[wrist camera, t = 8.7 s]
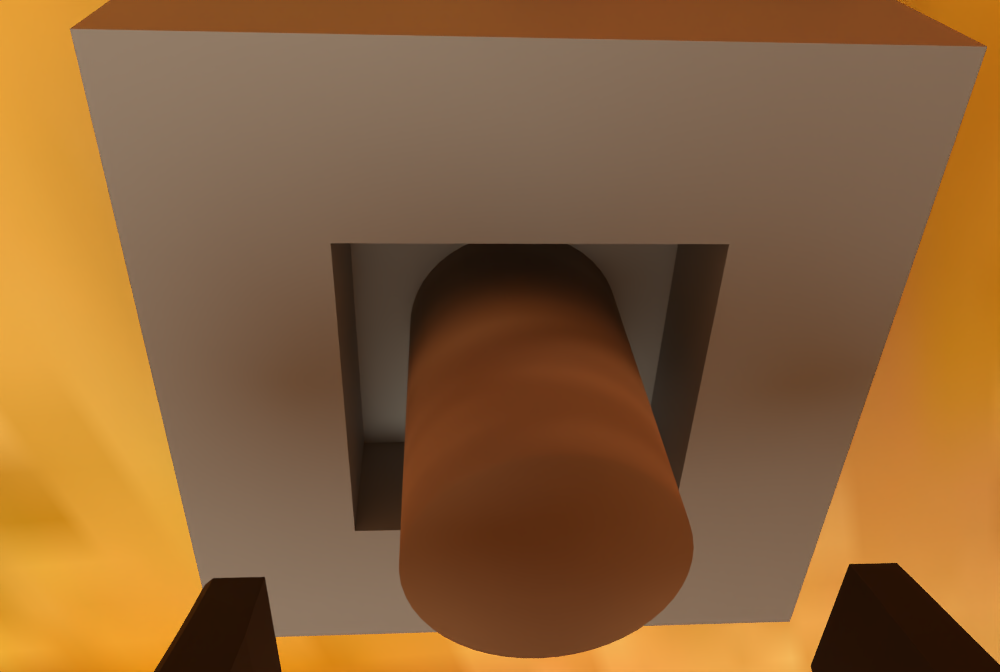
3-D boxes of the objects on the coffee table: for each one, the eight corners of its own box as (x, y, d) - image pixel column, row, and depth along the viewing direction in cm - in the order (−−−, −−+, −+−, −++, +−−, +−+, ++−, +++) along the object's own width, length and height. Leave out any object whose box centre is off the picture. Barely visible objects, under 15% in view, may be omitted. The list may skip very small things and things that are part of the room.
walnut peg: (626, 231, 16) (715, 450, 11) (607, 404, 18) (673, 652, 13) (405, 234, 15) (390, 459, 10) (413, 408, 18) (404, 663, 13)
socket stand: (876, -10, 14) (987, 46, 12) (740, 503, 21) (789, 621, 18) (148, -27, 14) (70, 29, 11) (246, 513, 20) (214, 638, 17)
